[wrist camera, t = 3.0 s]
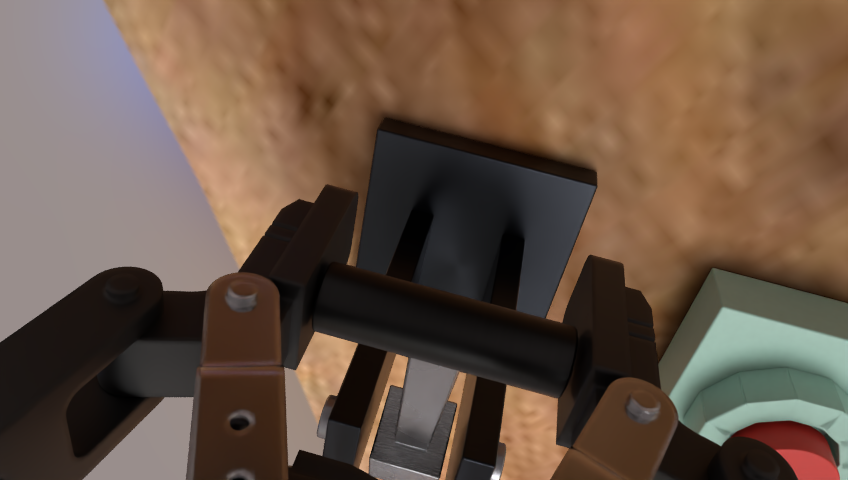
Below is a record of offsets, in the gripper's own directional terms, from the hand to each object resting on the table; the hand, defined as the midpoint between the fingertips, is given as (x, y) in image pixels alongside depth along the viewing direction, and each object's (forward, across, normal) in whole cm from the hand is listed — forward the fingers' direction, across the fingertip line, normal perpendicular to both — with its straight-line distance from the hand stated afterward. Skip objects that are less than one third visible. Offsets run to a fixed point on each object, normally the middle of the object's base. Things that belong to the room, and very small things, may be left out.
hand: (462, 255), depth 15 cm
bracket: (+13, 0, +9) cm, 16 cm away
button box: (+13, -15, +12) cm, 23 cm away
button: (+9, -15, +12) cm, 21 cm away
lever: (+1, 0, +4) cm, 4 cm away
